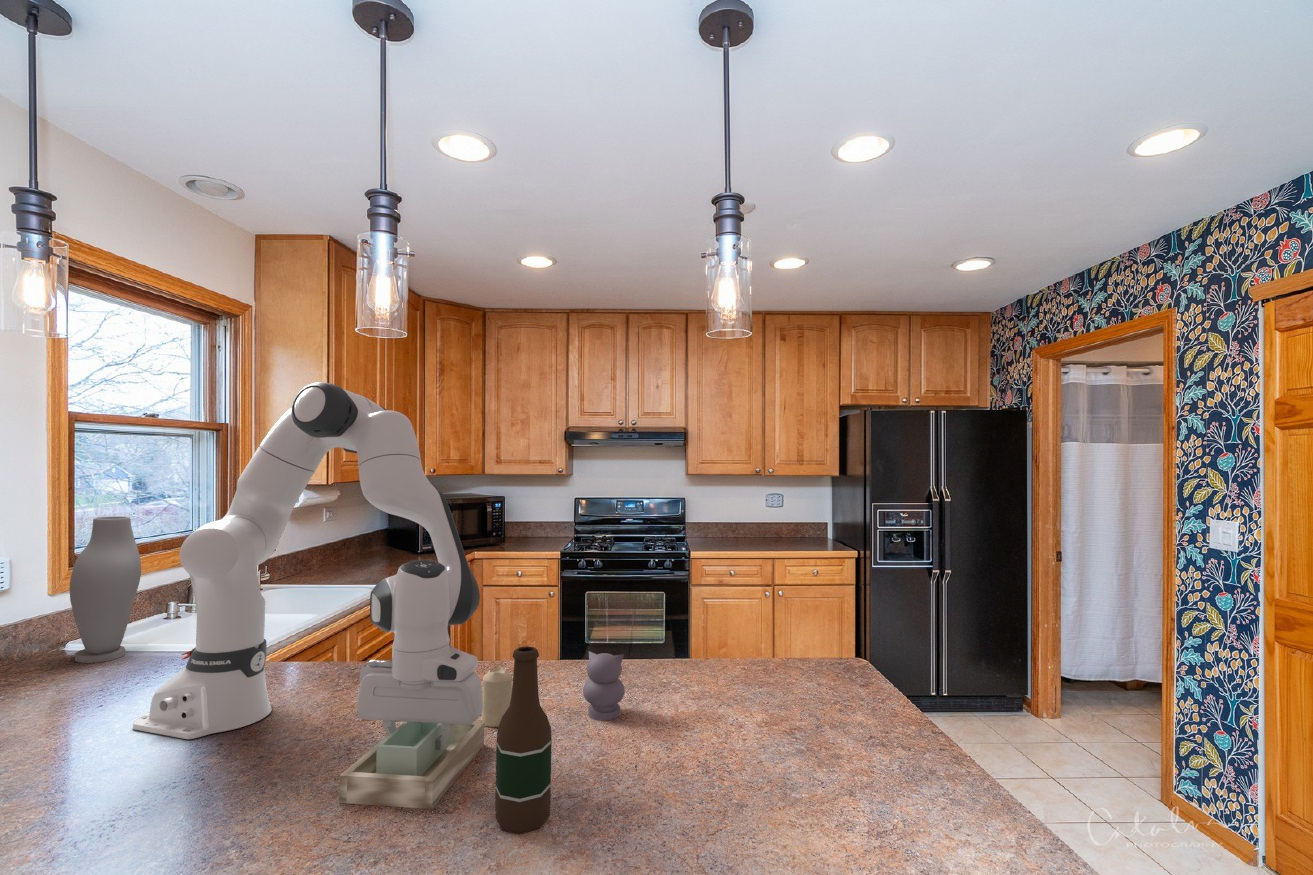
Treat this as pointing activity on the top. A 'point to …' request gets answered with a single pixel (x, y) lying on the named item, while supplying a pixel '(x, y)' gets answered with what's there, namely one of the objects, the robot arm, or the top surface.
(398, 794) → the box
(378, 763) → the green crate
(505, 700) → the candle
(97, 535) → the vase
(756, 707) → the top surface
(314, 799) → the top surface
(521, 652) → the beer bottle
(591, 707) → the cat figurine
